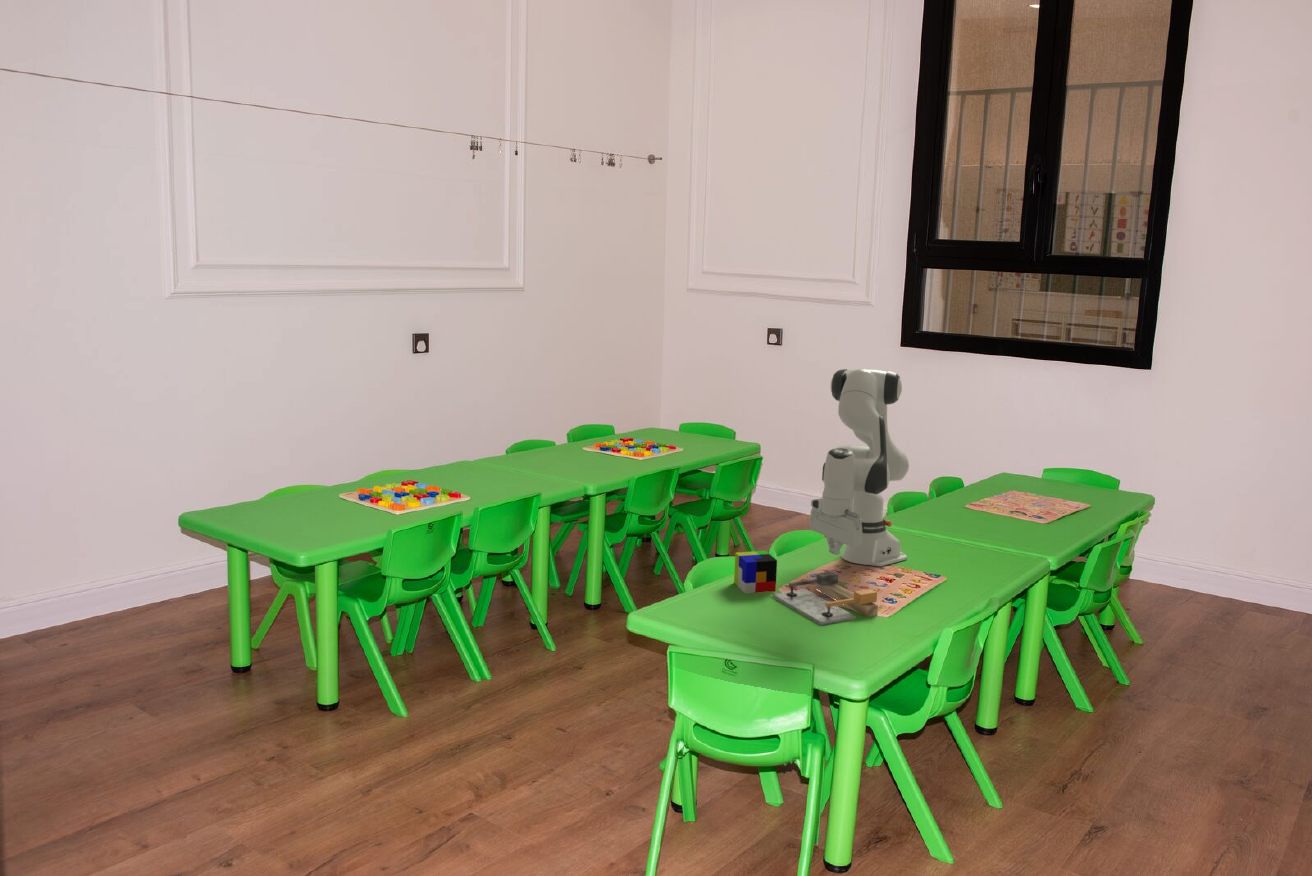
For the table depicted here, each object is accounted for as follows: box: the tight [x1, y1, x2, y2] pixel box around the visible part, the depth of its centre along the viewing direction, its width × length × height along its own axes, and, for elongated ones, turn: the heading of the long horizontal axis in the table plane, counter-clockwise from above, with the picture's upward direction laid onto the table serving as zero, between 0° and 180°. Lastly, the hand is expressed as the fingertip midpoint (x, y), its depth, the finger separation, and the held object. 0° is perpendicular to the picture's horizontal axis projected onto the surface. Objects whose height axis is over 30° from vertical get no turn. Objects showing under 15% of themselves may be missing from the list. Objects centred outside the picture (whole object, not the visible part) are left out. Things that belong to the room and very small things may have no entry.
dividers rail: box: [788, 570, 879, 618], centre depth 310 cm, size 17×25×6 cm
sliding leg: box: [825, 588, 878, 614], centre depth 302 cm, size 17×3×5 cm, turn 117°
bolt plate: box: [772, 588, 856, 626], centre depth 308 cm, size 12×25×1 cm, turn 27°
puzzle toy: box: [733, 550, 778, 594], centre depth 324 cm, size 10×10×10 cm
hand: (834, 553), depth 297 cm, fingers closed
